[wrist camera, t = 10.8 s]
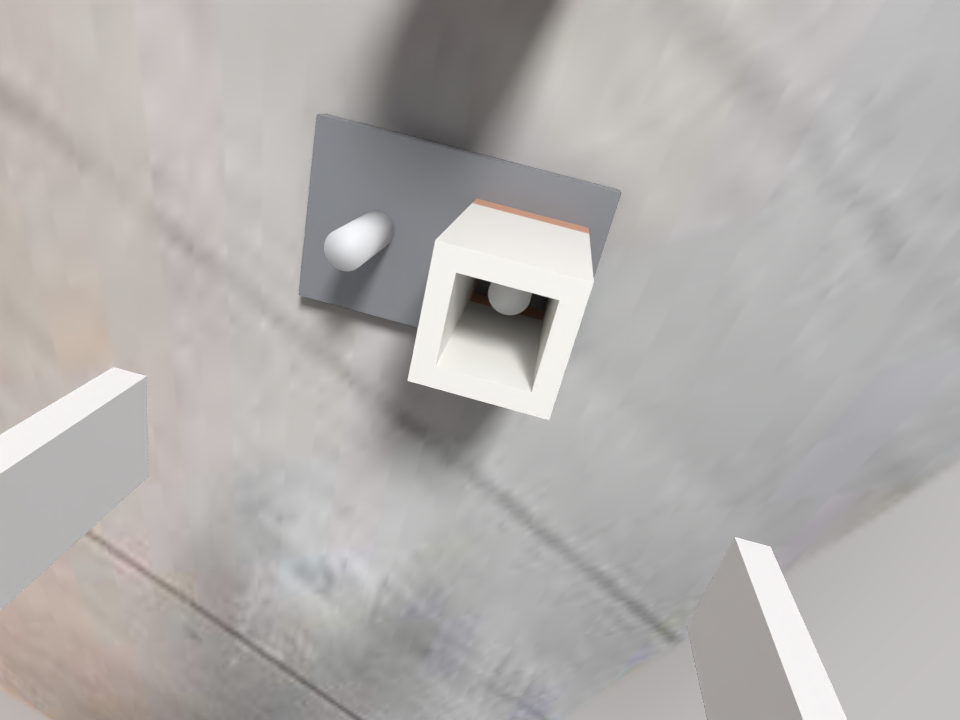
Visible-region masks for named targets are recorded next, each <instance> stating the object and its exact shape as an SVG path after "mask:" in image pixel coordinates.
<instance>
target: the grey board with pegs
mask: <svg viewBox="0 0 960 720" xmlns="http://www.w3.org/2000/svg"><path fill="white" fill-rule="evenodd" d="M620 195H621V192H620V190H618V189H614V188H610V187H606V186H602V185H598V184H595V183H591V182H587V181H583V180H579V179H575V178H571V177H568V176H564V175H560V174H556V173H552V172H548V171H544V170H541V169H537V168H533V167H529V166H525V165H521V164H517V163H514V162H510V161H506V160H502V159H498V158H494V157H490V156H486V155H483V154H479V153H475V152H471V151H467V150H463V149H459V148H456V147H452V146H448V145H444V144H440V143H436V142H432V141H429V140H425V139H421V138H417V137H413V136H409V135H405V134H402V133H398V132H394V131H390V130H386V129H382V128H378V127H374V126H371V125H367V124H363V123H359V122H355V121H351V120H347V119H344V118H340V117H336V116H332V115H328V114H317V118H316V127H315V137H314V147H313V157H312V167H311V177H310V187H309V197H308V207H307V217H306V227H305V237H304V246H303V256H302V266H301V276H300V286H299V295H300V296H304V297H307V298H311V299H315V300H318V301H322V302H326V303H329V304H333V305H337V306H340V307H344V308H348V309H351V310H355V311H359V312H362V313H366V314H370V315H373V316H377V317H381V318H384V319H388V320H392V321H395V322H399V323H403V324H406V325H410V326H414V327H417V328H418V325H419V320H420V315H421V310H422V305H423V300H424V295H425V290H426V285H427V279H428V274H429V269H430V264H431V259H432V254H433V249H434V244H435V240H436V239H437V238H438V237H439V236H440V235H441V234H442V233H443V232H444V231H445V230H446V229H447V228H448V227H449V226H450V225H451V224H452V223H453V222H454V221H455V220H456V219H457V218H458V217H459V216H460V215H461V214H462V213H463V212H464V211H465V210H466V209H467V208H468V207H469V206H470V205H471V204H472V203H473V202H474V201H475V200H476V199H480V200H484V201H488V202H492V203H496V204H499V205H503V206H507V207H511V208H515V209H519V210H522V211H526V212H530V213H534V214H538V215H541V216H545V217H549V218H553V219H557V220H561V221H564V222H568V223H572V224H576V225H580V226H583V227H587V228H589V236H590V247H591V258H592V268H593V279H594V276H595V272H596V269H597V266H598V263H599V260H600V257H601V254H602V251H603V248H604V245H605V242H606V238H607V235H608V232H609V229H610V226H611V223H612V220H613V217H614V214H615V211H616V208H617V205H618V201H619V198H620ZM474 293H478V294H481V295H485V296H488V298H489V301H490V304H491V305H492V307H493V308H494V309H495V310H496V311H498V312H499V313H501V314H504V315H516V314H519V313H521V312H522V311H524V310H525V309H526V308H527V307H530V308H534V309H537V310H541V311H544V310H545V306H546V303H547V299H548V297H545V296H541V295H538V294H534V293H530V292H527V291H523V290H519V289H515V288H512V287H508V286H504V285H500V284H497V283H493V282H489V281H485V280H482V279H477V283H476V287H475V292H474Z"/></svg>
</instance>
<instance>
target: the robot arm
mask: <svg viewBox="0 0 960 720" xmlns="http://www.w3.org/2000/svg"><path fill="white" fill-rule="evenodd" d="M147 477H148V426H147V376H144V375H140V374H136V373H133V372H129V371H126V370H122V369H118V368H115V367H113V368H111V369H109V370H108V371H106V372H104V373H103V374H101V375H99V376H98V377H96V378H94V379H93V380H91V381H89V382H88V383H86V384H84V385H83V386H81V387H79V388H78V389H76V390H74V391H73V392H71V393H69V394H68V395H66V396H64V397H63V398H61V399H59V400H58V401H56V402H54V403H52V404H51V405H49V406H47V407H46V408H44V409H42V410H41V411H39V412H37V413H36V414H34V415H32V416H31V417H29V418H27V419H26V420H24V421H22V422H21V423H19V424H17V425H16V426H14V427H12V428H11V429H9V430H7V431H6V432H4V433H2V434H1V435H0V611H1V610H2V609H3V608H4V607H5V606H6V605H8V604H9V603H10V602H11V601H12V600H13V599H14V598H15V597H16V596H17V595H19V594H20V593H21V592H22V591H23V590H24V589H25V588H26V587H27V586H28V585H30V584H31V583H32V582H33V581H34V580H35V579H36V578H37V577H38V576H39V575H41V574H42V573H43V572H44V571H45V570H46V569H47V568H48V567H49V566H50V565H52V564H53V563H54V562H55V561H56V560H57V559H58V558H59V557H60V556H62V555H63V554H64V553H65V552H66V551H67V550H68V549H69V548H70V547H71V546H73V545H74V544H75V543H76V542H77V541H78V540H79V539H80V538H81V537H82V536H84V535H85V534H86V533H87V532H88V531H89V530H90V529H91V528H92V527H93V526H95V525H96V524H97V523H98V522H99V521H100V520H101V519H102V518H103V517H104V516H106V515H107V514H108V513H109V512H110V511H111V510H112V509H113V508H114V507H115V506H117V505H118V504H119V503H120V502H121V501H122V500H123V499H124V498H125V497H126V496H128V495H129V494H130V493H131V492H132V491H133V490H134V489H135V488H136V487H137V486H139V485H140V484H141V483H142V482H143V481H144V480H145V479H146V478H147ZM687 630H688V635H689V639H690V644H691V648H692V653H693V658H694V662H695V667H696V671H697V675H698V680H699V685H700V689H701V694H702V698H703V703H704V708H705V712H706V717H707V720H847V718H846V716H845V714H844V712H843V709H842V707H841V705H840V703H839V700H838V698H837V696H836V694H835V691H834V689H833V687H832V685H831V682H830V680H829V678H828V676H827V673H826V671H825V669H824V667H823V664H822V662H821V660H820V658H819V655H818V653H817V651H816V649H815V647H814V644H813V642H812V640H811V638H810V635H809V633H808V631H807V628H806V626H805V624H804V622H803V619H802V617H801V615H800V613H799V610H798V608H797V606H796V604H795V601H794V599H793V597H792V595H791V592H790V590H789V588H788V586H787V583H786V581H785V579H784V577H783V574H782V572H781V570H780V568H779V565H778V563H777V561H776V559H775V556H774V554H773V552H772V550H771V547H769V546H765V545H762V544H758V543H755V542H751V541H747V540H744V539H740V538H736V537H735V538H734V540H733V541H732V543H731V545H730V547H729V549H728V551H727V553H726V554H725V556H724V558H723V560H722V562H721V564H720V566H719V567H718V569H717V571H716V573H715V575H714V577H713V579H712V580H711V582H710V584H709V586H708V588H707V590H706V592H705V593H704V595H703V597H702V599H701V601H700V603H699V604H698V606H697V608H696V610H695V612H694V614H693V616H692V617H691V619H690V621H689V623H688V625H687Z"/></svg>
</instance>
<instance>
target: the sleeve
mask: <svg viewBox="0 0 960 720" xmlns="http://www.w3.org/2000/svg"><path fill="white" fill-rule="evenodd" d="M477 279H482V280H485V281H489V282H493V283H497V284H500V285H504V286H508V287H512V288H515V289H519V290H523V291H527V292H530V293H534V294H538V295H541V296H545V297H548V299H547V303H546V306H545V310H544V311H541V310H537V309H534V308H530V307H527V308H526V309H525V310H524V311H522V312H521V313H519V314H516V315H504V314H501V313H499V312H498V311H496V310H495V309H494V308H493V307H492V305H491V304H490V301H489V298H488V296H485V295H481V294H478V293H474V292H475V287H476V283H477ZM593 283H594V279H593V268H592V258H591V247H590V236H589V228H587V227H583V226H580V225H576V224H572V223H568V222H564V221H561V220H557V219H553V218H549V217H545V216H541V215H538V214H534V213H530V212H526V211H522V210H519V209H515V208H511V207H507V206H503V205H499V204H496V203H492V202H488V201H484V200H480V199H476V200H475V201H474V202H473V203H472V204H471V205H470V206H469V207H468V208H467V209H466V210H465V211H464V212H463V213H462V214H461V215H460V216H459V217H458V218H457V219H456V220H455V221H454V222H453V223H452V224H451V225H450V226H449V227H448V228H447V229H446V230H445V231H444V232H443V233H442V234H441V235H440V236H439V237H438V238H437V239H436V240H435V244H434V249H433V254H432V259H431V264H430V269H429V274H428V279H427V285H426V290H425V295H424V300H423V305H422V310H421V315H420V320H419V325H418V330H417V335H416V340H415V345H414V350H413V355H412V360H411V365H410V370H409V376H408V381H410V382H413V383H417V384H421V385H424V386H428V387H431V388H435V389H439V390H442V391H446V392H450V393H453V394H457V395H460V396H464V397H468V398H471V399H475V400H478V401H482V402H486V403H489V404H493V405H497V406H500V407H504V408H507V409H511V410H515V411H518V412H522V413H525V414H529V415H533V416H536V417H540V418H544V419H547V420H549V418H550V415H551V412H552V409H553V406H554V403H555V400H556V397H557V394H558V391H559V388H560V385H561V381H562V378H563V375H564V372H565V369H566V366H567V363H568V360H569V357H570V354H571V351H572V348H573V345H574V341H575V338H576V335H577V332H578V329H579V326H580V323H581V320H582V317H583V314H584V311H585V308H586V305H587V301H588V298H589V295H590V292H591V289H592V286H593Z"/></svg>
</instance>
